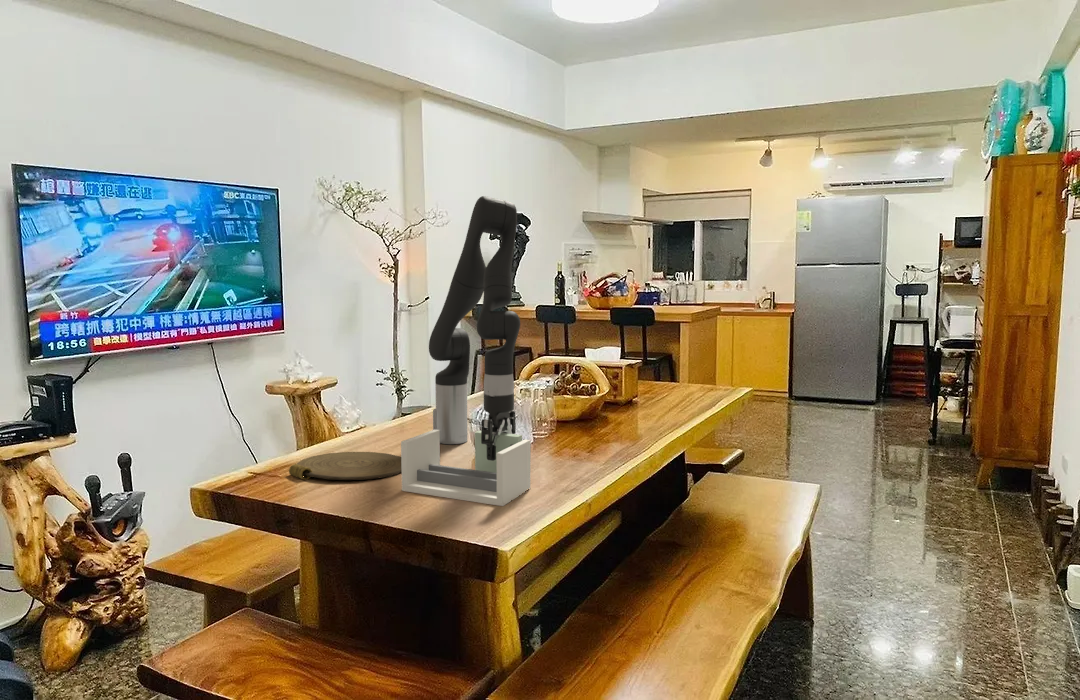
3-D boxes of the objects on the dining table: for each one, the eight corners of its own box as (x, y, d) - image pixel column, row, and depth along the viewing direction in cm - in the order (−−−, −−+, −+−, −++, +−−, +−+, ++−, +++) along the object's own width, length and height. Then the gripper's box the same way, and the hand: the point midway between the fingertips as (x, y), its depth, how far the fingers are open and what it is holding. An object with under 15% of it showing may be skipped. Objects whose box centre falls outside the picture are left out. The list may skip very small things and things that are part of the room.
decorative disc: (433, 460, 191) (330, 479, 169) (433, 473, 191) (330, 493, 169) (368, 442, 210) (268, 457, 188) (368, 454, 211) (268, 469, 189)
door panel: (474, 471, 187) (474, 432, 186) (479, 468, 190) (479, 430, 189) (517, 477, 182) (517, 437, 181) (522, 474, 185) (522, 435, 184)
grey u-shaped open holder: (401, 490, 171) (401, 441, 169) (434, 475, 183) (434, 429, 182) (502, 506, 160) (502, 453, 159) (530, 488, 173) (530, 440, 171)
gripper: (498, 386, 192) (498, 448, 194) (471, 395, 179) (471, 461, 181) (524, 388, 189) (524, 451, 191) (499, 397, 176) (499, 464, 178)
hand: (499, 456), depth 186 cm, fingers open, 8 cm apart
